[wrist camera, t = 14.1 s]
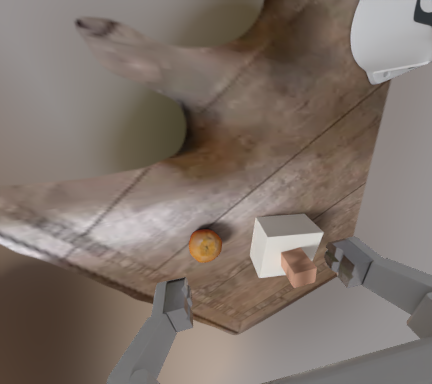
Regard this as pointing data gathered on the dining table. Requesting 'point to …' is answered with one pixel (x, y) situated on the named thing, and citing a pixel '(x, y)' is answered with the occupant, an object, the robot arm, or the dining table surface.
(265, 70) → the dining table surface
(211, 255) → the fruit
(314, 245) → the cream box
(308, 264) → the terracotta block
